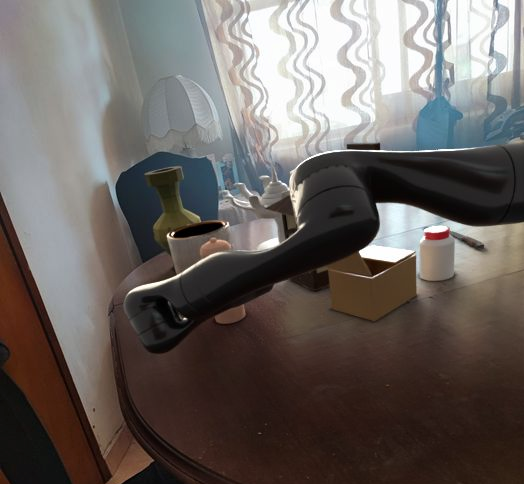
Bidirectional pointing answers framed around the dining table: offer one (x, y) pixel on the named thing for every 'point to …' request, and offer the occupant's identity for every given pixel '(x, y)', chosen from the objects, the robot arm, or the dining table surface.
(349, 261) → the flap
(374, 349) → the dining table surface
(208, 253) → the pepper shaker
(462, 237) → the knife
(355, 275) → the carton
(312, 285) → the lantern
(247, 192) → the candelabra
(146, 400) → the dining table surface
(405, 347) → the dining table surface
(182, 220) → the vase
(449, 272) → the pill bottle
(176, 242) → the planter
